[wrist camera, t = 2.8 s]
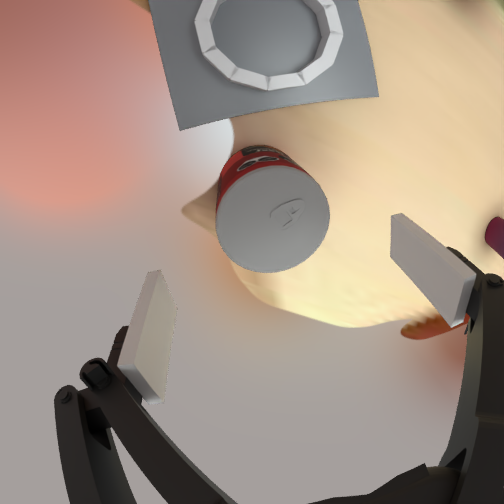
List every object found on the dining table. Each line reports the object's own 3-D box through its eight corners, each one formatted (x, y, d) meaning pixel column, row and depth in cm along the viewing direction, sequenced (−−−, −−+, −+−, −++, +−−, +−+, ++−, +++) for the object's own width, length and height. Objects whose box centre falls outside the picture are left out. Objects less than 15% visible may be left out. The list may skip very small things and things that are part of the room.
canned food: (310, 172, 29) (352, 210, 19) (264, 230, 32) (281, 291, 22) (249, 128, 26) (264, 141, 17) (203, 192, 29) (193, 241, 19)
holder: (148, -8, 18) (139, -20, 15) (342, -33, 17) (354, -44, 14) (181, 129, 26) (175, 133, 23) (374, 96, 25) (391, 97, 22)
